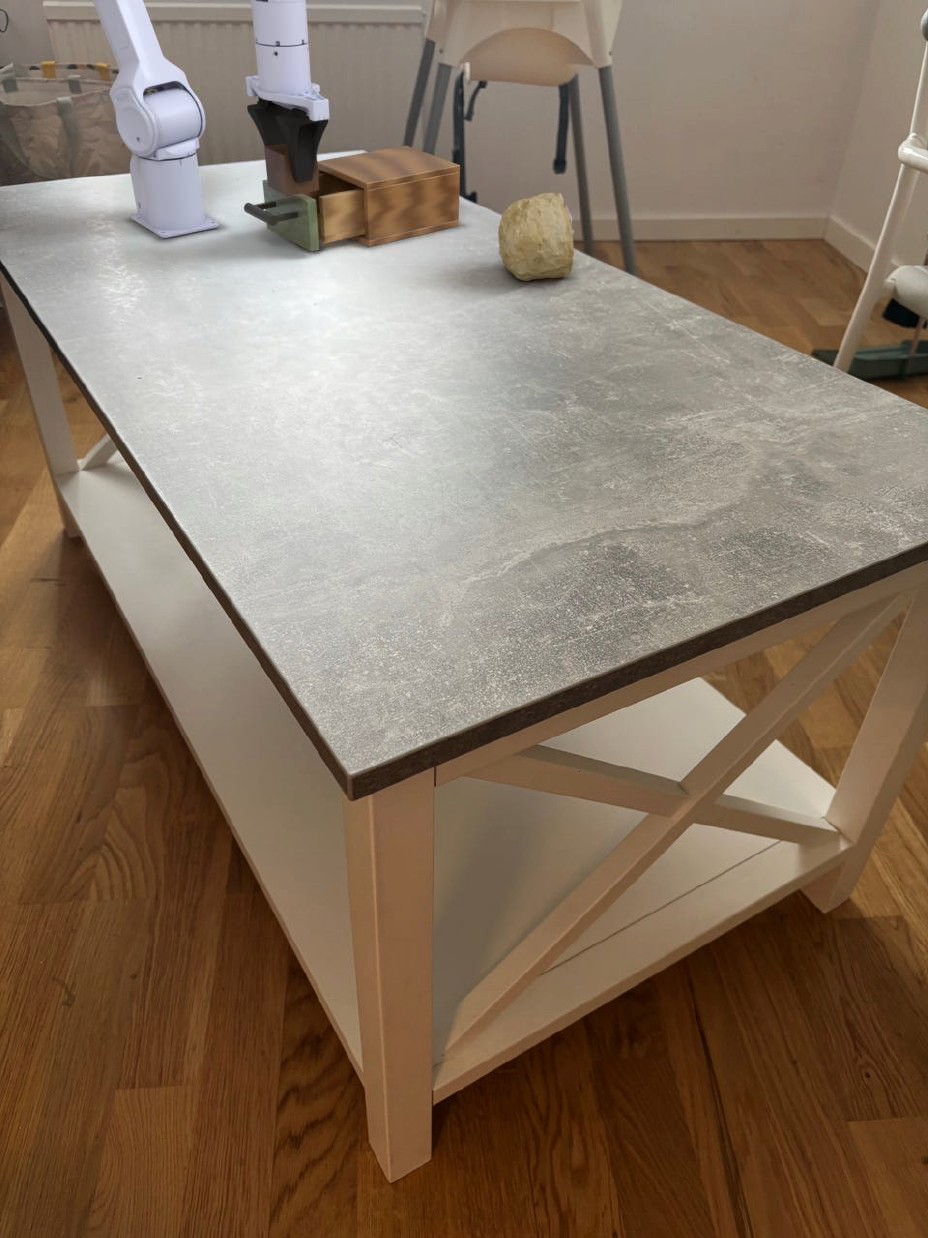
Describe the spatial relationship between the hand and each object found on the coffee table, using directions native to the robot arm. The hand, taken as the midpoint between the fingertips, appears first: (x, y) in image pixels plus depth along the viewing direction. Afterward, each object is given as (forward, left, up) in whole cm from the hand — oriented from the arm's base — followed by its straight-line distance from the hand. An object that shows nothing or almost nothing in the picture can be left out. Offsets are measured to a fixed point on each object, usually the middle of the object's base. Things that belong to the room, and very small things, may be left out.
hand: (292, 175), depth 112 cm
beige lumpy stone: (+22, +19, -9) cm, 30 cm away
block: (0, 0, -1) cm, 1 cm away
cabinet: (-3, +16, -9) cm, 19 cm away
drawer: (-3, +5, -8) cm, 10 cm away
